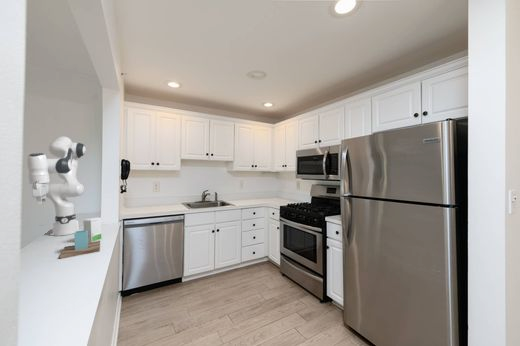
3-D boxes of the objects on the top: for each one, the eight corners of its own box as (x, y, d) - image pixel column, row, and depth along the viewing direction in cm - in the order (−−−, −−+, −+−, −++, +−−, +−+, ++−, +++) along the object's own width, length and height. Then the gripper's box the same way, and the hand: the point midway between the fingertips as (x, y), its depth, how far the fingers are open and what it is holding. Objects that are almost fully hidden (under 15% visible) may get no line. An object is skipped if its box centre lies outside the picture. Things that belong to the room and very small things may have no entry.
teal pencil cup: (76, 247, 138) (75, 231, 138) (88, 245, 142) (87, 229, 142) (75, 250, 134) (74, 233, 133) (87, 248, 137) (86, 232, 137)
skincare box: (91, 243, 150) (90, 220, 149) (83, 242, 151) (82, 220, 150) (102, 239, 158) (101, 217, 157) (94, 238, 159) (93, 217, 159)
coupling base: (64, 249, 140) (64, 234, 140) (100, 242, 150) (99, 228, 150) (60, 258, 125) (59, 242, 125) (99, 251, 136) (98, 235, 135)
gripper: (42, 181, 128) (45, 204, 130) (50, 178, 145) (52, 199, 146) (27, 182, 125) (29, 206, 126) (36, 179, 142) (38, 200, 143)
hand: (41, 202), depth 136 cm, fingers open, 8 cm apart
